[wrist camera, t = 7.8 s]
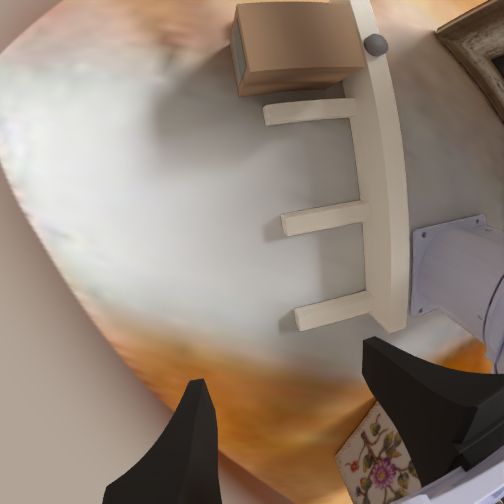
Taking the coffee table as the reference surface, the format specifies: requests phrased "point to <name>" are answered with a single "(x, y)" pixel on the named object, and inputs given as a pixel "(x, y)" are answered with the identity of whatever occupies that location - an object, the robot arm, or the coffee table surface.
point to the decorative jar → (376, 462)
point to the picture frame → (480, 47)
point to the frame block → (293, 46)
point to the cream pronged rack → (362, 184)
